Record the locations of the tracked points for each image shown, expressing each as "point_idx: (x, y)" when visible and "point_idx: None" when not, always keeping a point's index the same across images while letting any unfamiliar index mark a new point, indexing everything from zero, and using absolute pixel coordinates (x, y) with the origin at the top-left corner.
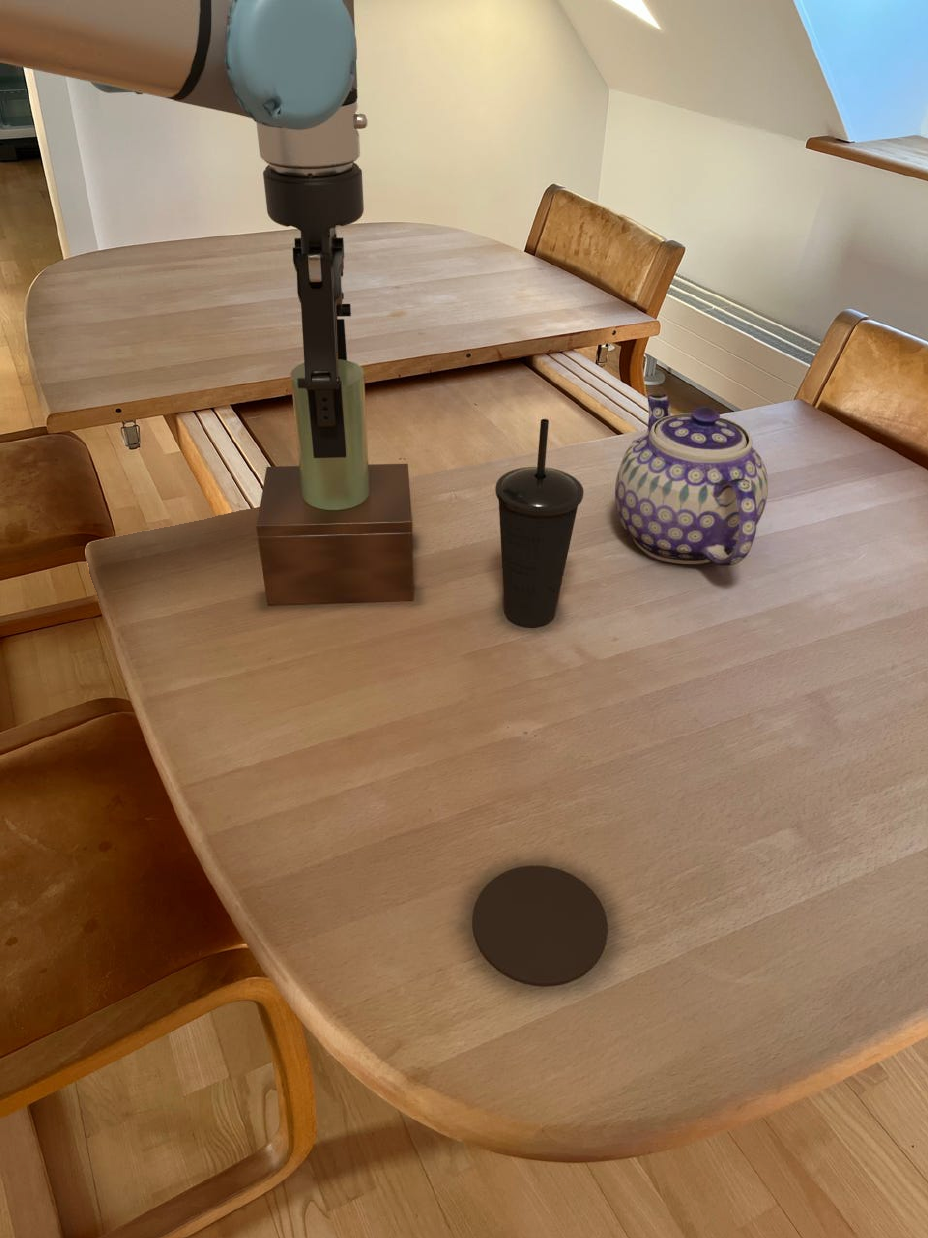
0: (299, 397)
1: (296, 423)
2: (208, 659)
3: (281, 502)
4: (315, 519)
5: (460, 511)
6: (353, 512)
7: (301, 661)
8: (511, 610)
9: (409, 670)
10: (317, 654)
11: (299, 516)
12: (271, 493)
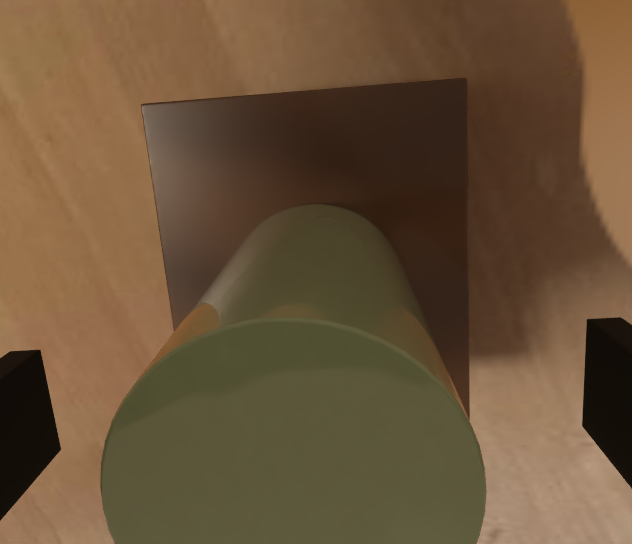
0: (166, 344)
1: (238, 269)
2: (32, 22)
3: (263, 154)
4: (183, 252)
5: (531, 451)
6: None
7: (49, 195)
8: None
9: (51, 368)
10: (71, 220)
11: (195, 211)
12: (308, 118)
